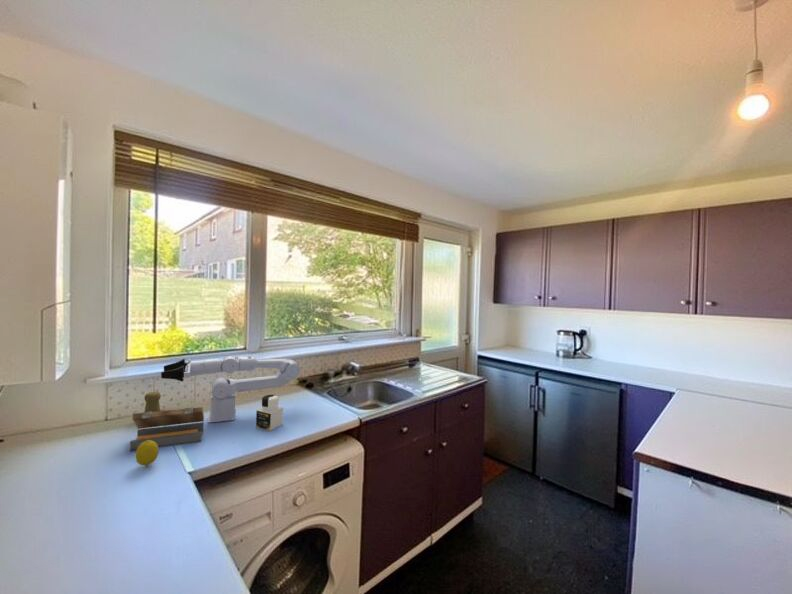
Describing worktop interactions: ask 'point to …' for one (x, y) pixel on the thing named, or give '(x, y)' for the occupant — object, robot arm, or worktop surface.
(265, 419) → the medicine bottle
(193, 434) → the cable duct
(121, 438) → the worktop surface
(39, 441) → the worktop surface
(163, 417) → the tan flat wooden board
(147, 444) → the lemon
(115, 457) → the worktop surface
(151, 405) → the cork
